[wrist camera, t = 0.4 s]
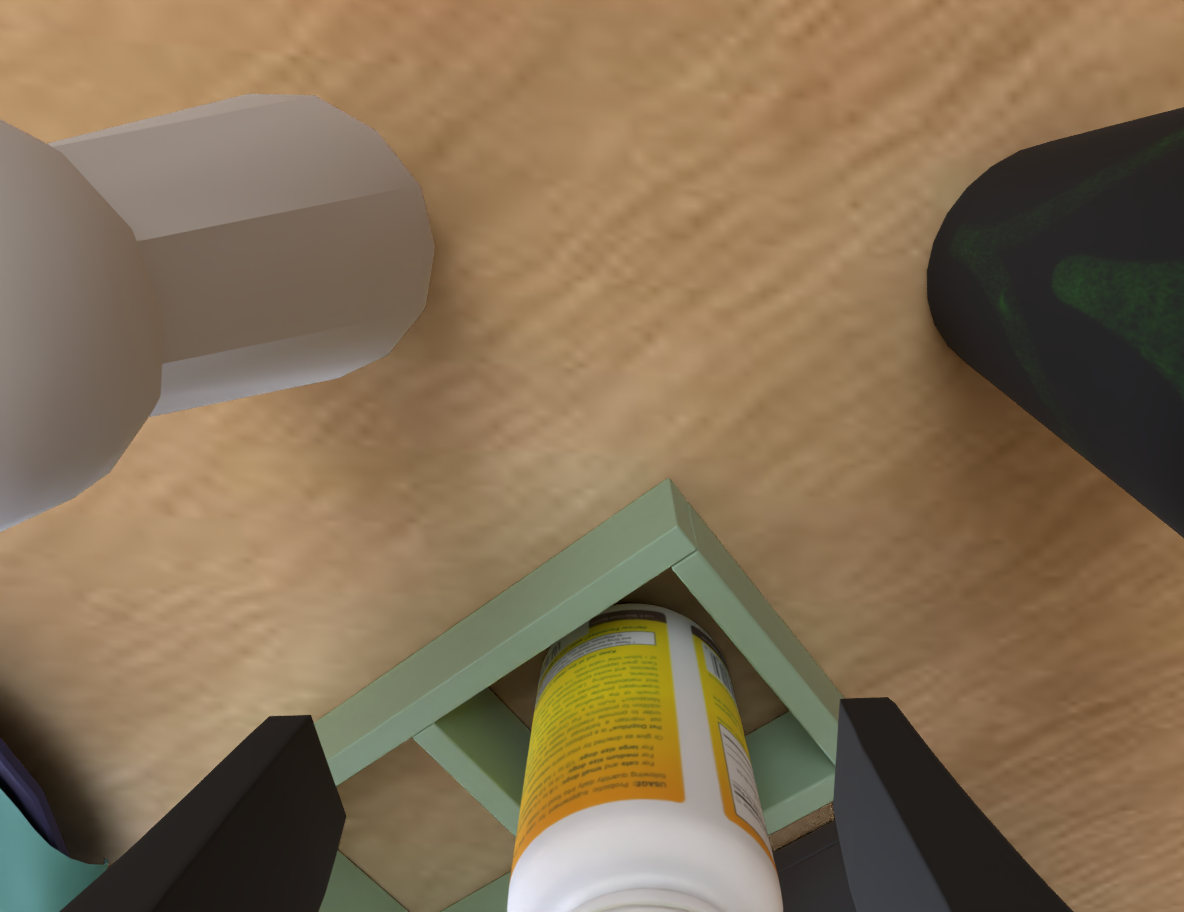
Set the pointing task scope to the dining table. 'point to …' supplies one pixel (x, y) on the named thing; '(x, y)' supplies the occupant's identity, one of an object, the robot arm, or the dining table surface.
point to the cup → (1080, 296)
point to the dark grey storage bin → (814, 873)
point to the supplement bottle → (639, 777)
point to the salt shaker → (190, 275)
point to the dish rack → (539, 619)
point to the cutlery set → (34, 847)
